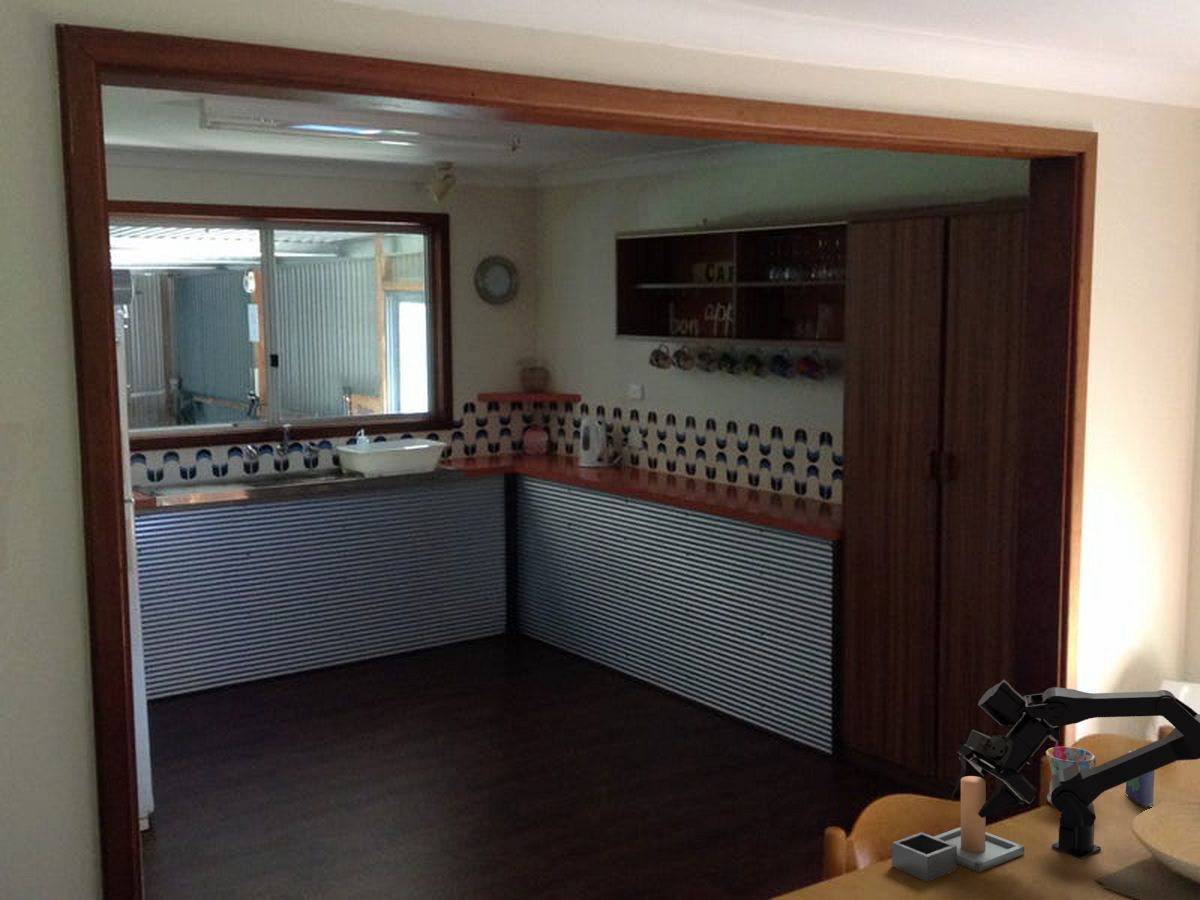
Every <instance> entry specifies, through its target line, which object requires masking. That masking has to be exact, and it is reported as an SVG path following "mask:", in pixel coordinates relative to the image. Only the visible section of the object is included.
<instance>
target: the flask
mask: <svg viewBox="0 0 1200 900" xmlns="http://www.w3.org/2000/svg"><path fill="white" fill-rule="evenodd" d="M1137 749H1138V748H1135V749H1134V750H1137ZM1132 751H1133V750H1129V751H1128V752H1127V753H1130V752H1132ZM1154 781H1155V770H1154V771H1152V772H1149V773H1147V774H1144V775H1142V776H1140V777H1137V778H1135V779H1133V780H1130V781H1128V782H1125V790H1124V791H1125V793H1126V794H1127V795H1128V797H1129V798H1130V799H1131V801H1132V800H1133V801H1134V802H1133V803H1135V804H1136V803H1137V805H1138V806H1140V807H1142V808H1143V807H1144V809H1148V808H1147V807H1149V806H1153V807H1154V800H1155V799H1154V788H1155V786H1154V785H1155V782H1154ZM1125 793H1124V794H1125ZM1126 794H1125V795H1126ZM1128 797H1127V798H1128ZM1129 798H1128V799H1129ZM1130 799H1129V800H1130Z"/></svg>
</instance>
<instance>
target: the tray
mask: <svg viewBox="0 0 1200 900" xmlns="http://www.w3.org/2000/svg"><path fill="white" fill-rule="evenodd" d="M933 837H936V838H938V839H941V840H943V841H946V842H948V843H951V844H953V845H956V846H957V864H958V863H959V864H958V865H960V864H961V865H960V866H963V865H964V866H963V867H965V866H966V867H965V868H967V867H968V868H967V869H970V868H971V869H970V870H972V869H974V870H973V871H975V870H976V871H975V872H977V871H978V873H981V872H983V871H982V870H984V871H986V870H989V869H991V868H994V867H996V866H998V865H1001V864H1003V863H1006V862H1008V861H1011V860H1014V859H1015V858H1019V857H1021V856H1023V855H1025V846H1024V845H1021V844H1018V843H1017V842H1015V841H1014V842H1013V841H1011V840H1008V839H1006V838H1004V837H1000V836H998V835H995V834H992V833H990V832H987V831H985V851H984V852H981V853H969V852H966V851H964V850H962V849H961V826H958V827H956V828H953V829H951V830H949V831H945V832H943V833H939V834H937V835H935V836H933ZM993 866H994V867H993ZM988 868H989V869H988ZM985 869H986V870H985ZM980 871H981V872H980Z"/></svg>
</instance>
